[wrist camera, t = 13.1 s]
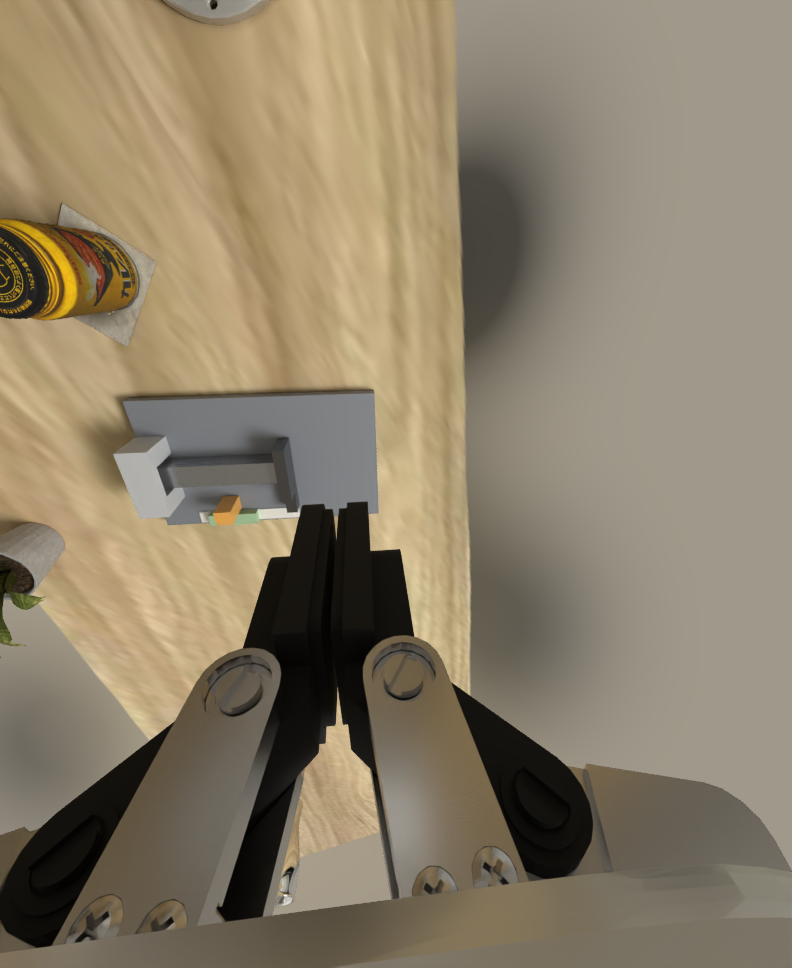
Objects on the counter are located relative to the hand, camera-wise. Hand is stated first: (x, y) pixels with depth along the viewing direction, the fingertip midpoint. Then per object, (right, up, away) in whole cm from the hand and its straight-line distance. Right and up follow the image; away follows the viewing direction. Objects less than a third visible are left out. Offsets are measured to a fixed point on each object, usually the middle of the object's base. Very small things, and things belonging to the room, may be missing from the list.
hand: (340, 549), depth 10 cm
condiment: (-25, +20, +24) cm, 40 cm away
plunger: (-18, +3, +32) cm, 37 cm away
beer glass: (-22, -69, +73) cm, 103 cm away
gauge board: (-13, +5, +33) cm, 36 cm away
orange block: (-18, 0, +34) cm, 38 cm away
